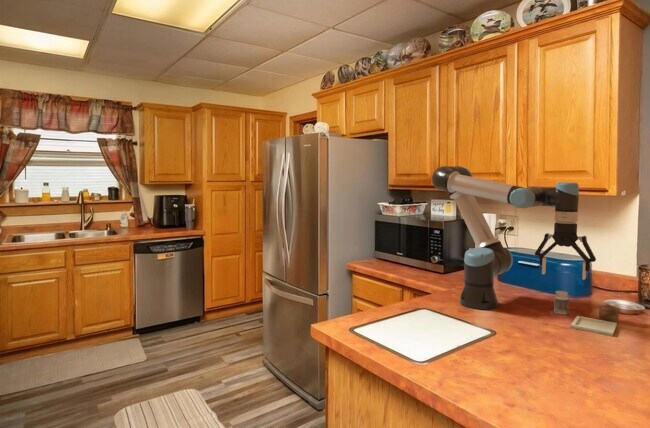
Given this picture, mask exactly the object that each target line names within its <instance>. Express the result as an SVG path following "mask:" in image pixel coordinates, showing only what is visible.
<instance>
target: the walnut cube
mask: <svg viewBox="0 0 650 428" xmlns="http://www.w3.org/2000/svg"><path fill="white" fill-rule="evenodd" d="M598 307H599V309H598V311H599V312H598V318H599V319H598V320H603V321H609V322H614V323H617V325H619V313H620V312H619V308H617V306H615V305H606V304H605V305H604V304H599V306H598Z"/></svg>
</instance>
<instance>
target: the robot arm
mask: <svg viewBox="0 0 650 428" xmlns="http://www.w3.org/2000/svg"><path fill="white" fill-rule="evenodd" d="M431 183H432V185H433V187H434V188H435V189H436V190H438V191H441V192H447V194H448V196H449V198H450V199H451V200H454V201H455V204H456V205H457V207H458V210H459V212H460V214H461V216H462V218H463V220H464V223H465V224H466V225H465V226H467V229H468V231H469V234H470V235H471V237H472V240H473V242H474V243H475V247H473V248H472V247H471V248H470V249H467V250H466V251H465V253H464V259H463V266H464V267H463V268H464V269H463V270H464V272H463V273H464V275H463V276H464V277H463V278H464V282H463V288H462V290H461V293H460V296H459V304H461V305H462V306H464V307H467V308H470V309H475V310H493V309H496V308H498V306H499V299H498V297H497V293H496V291H495V288H494V283H495V281H494V277H495V276H499V275H503V274H505V273H506V272H508V271H510V269H511V268H512V266H513V263H514V257H513V255H512V252H511V251H510V250H509V249H508V248H505V247H504V246H503V244H502V242H501V240H500V239H496V238H495V236H494V233H493V232H492V230H491V227H490V225H489V223H488V222H487V219H486V218H485V215H484V214H483V211H482V209H481V207H480V205H479V203H478V201H477V199H476V197H478V198H483V199H488V200H492V201H496V202H500V203H505V204H508V205H512V206H513V207H514V208H517V209H528V208H532V207H554V221H555V223H554V224H553V225H554V226H553V227H554V229H553V234H552V233H549V232H547V233H545V234H544V238H543V240H542V241H541V243H540V244H539V246H538V248H536V251H535V252H534V256H536V257H538V258H539V262H538V263H539V266H541V267H542V268H541V274H542V275H545V274H546V273H547V271H546V270H547V267H546V266H547V257H546V255H547V254H548V253H550V251H552V249H554V248H555V247H556V246H559V247H567V248H569V247H571V248H573V249H574V250H575V252H576V253H577V254H578V255H579V256H580V257H581V258H582V260H583V262H582V278H581V279H582V281H584V280H586V278H587V277H586V276H587V272H589V271H590V267H591V263H595V262H596V260H597V258H596V256H595V254H594V252H593V251H592V248H591V247H590V245H589V243H588V237H587V235H583V236H582V235H581V236H578V216H579V210H578V209H579V196H580V191H579V190H580V187H579V184H578V183H577V182H556V184H555V187H539V186H537V187H536V186H530V187H528V186H527V187H523V186H518V185H513V184H507V183H504V182H499V181H495V180H494V181H493V180H488V179H484V178H480V177H475V176H473V174H472V172H471V171H470V170H469V169H468V168H467V167H464V166H460V165H459V166H458V165H456V166H451V165H449V166H448V165H443V166H440V167H439V166H438V167H437V168H436V169H435V170H434V171H433V172H432V174H431ZM551 238H552V239H553V240H554V242H552V244H551V245H550V246H548V247H547V248H546V249H545V250H544V251H543V252H542V250H543V249H544V247H545V246H546V244H547V242H548V241H549V240H551ZM578 240H579V242H581V243H582V245H583V247H584V248H585V251H586V253H587V254H588V256H587V254H586V253H585V252H584V251H583V250H582V249H581V248H580V247H579V245H578V243H576V242H578ZM541 252H542V253H541Z"/></svg>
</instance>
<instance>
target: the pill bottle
mask: <svg viewBox="0 0 650 428" xmlns="http://www.w3.org/2000/svg"><path fill="white" fill-rule="evenodd" d="M568 294H569V293H568V292H567V291H565V290H556V291H555V296H554V307H553V309H554V313H555V314H557V315H568V314H569V299H570V298H569V295H568Z"/></svg>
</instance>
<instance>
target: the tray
mask: <svg viewBox="0 0 650 428" xmlns="http://www.w3.org/2000/svg"><path fill="white" fill-rule="evenodd" d="M617 326H618V324H617V323H614V322H609V321H603V320H600V319H597V318H591V317H585V316H579V315H576V317H575V318H574V320H573V321H571V324H570V329H573V330H574V329H575V330H579V331H584V332H589V333H593V334H600V335H604V336H609V337H614V335H615V332H616V329H617Z"/></svg>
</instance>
